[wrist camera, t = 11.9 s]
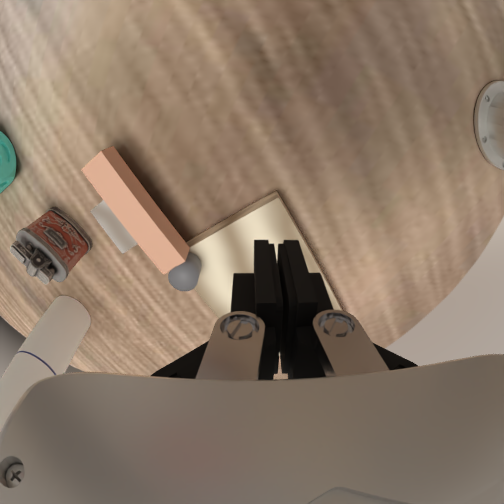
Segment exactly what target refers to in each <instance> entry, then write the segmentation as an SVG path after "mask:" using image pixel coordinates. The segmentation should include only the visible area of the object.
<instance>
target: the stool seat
mask: <svg viewBox="0 0 504 504" xmlns="http://www.w3.org/2000/svg"><path fill="white" fill-rule="evenodd" d="M91 213H92V214H93V216H94V217H95V218H96V220H97V221H98V222H99V224H100V225H101V226H102V228H103V229H104V230H105V232H106V233H107V234H108V236H109V237H110V238H111V239H112V241H113V242H114V243H115V245H116V246H117V247H118V248H119V250H120V251H121V252H122V253H125V252H126V251H128V250H129V249H131V248H132V247H134V246H135V245H137V244H138V243H137V242H136V241H135V240H134V238H133V237H132V236H131V235H130V233H129V232H128V231H127V230H126V228H125V227H124V226H123V225H122V223H121V222H120V221H119V220H118V218H117V217H116V216H115V214H114V213H113V212H112V210H111V209H110V208H109V207H108V205H107V204H106V203H105V201H104V200H103V201H102V202H101V203H99V204H98V205H97V206H96V207H95V208H93V209H92V210H91ZM254 240H268V241H269V244H274V246H275V253H276V259H277V255H278V244H283V241H284V240H299V243H300V246H301V249H302V252H303V255H304V259H305V262H306V265H307V268H308V271H309V273H321V275H322V278H323V281H324V284H325V286H326V289H327V292H328V295H329V297H330V300H331V303H332V306H333V309H334V310H342V311H343V309H342V307H341V305H340V303H339V301H338V299H337V297H336V295H335V294H334V292H333V290H332V288H331V286H330V284H329V282H328V280H327V279H326V277H325V275H324V273H323V271H322V269H321V268H320V266H319V264H318V262H317V260H316V258H315V257H314V255H313V253H312V251H311V249H310V248H309V246H308V244H307V242H306V241H305V239H304V237H303V235H302V234H301V232H300V230H299V228H298V226H297V225H296V223H295V221H294V220H293V218H292V216H291V214H290V213H289V211H288V209H287V207H286V206H285V204H284V202H283V201H282V199H281V197H280V196H279V194H278V192H277V191H275V192H273V193H271V194H269V195H268V196H266V197H264V198H262V199H260V200H259V201H257V202H255V203H253V204H251V205H250V206H248V207H246V208H244V209H243V210H241V211H239V212H237V213H236V214H234V215H232V216H230V217H229V218H227V219H225V220H223V221H222V222H220V223H218V224H217V225H215V226H213V227H211V228H210V229H208V230H206V231H204V232H203V233H201V234H199V235H198V236H196V237H194V238H193V239H191V240H189V241H188V242H186V244H187V245H188V246H189V247H190V250H189V252H191V253H193V254H195V255H197V256H198V257H199V259H200V261H201V264H202V267H201V271H200V275H199V279H198V283H197V285H196V287H195V288H194V289H195V291H196V292H197V293H198V294H199V296H200V297H201V298H202V299H203V300H204V302H205V303H206V304H207V305H208V306H209V308H210V309H211V310H212V311H213V312H214V314H215V315H216V316H217V317H218V318H220V317H221V316H223V315H225V314H227V313H230V311H231V298H232V285H233V274H234V273H254ZM279 355H280V353H279Z"/></svg>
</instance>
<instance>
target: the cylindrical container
mask: <svg viewBox="0 0 504 504" xmlns="http://www.w3.org/2000/svg"><path fill="white" fill-rule="evenodd" d="M90 324H91V319H90V315H89V313H88V311H87V310H86V308H85V307H84V306H83V305H82V304H81V303H80V302H79V301H77V300H76V299H74V298H72V297H69V296H58V297H57V298H56V299H55V300H54V301H53V302H52V304H51V305H50V306H49V308H48V309H47V310H46V312H45V313H44V314H43V316H42V317H41V319H40V320H39V321H38V323H37V324H36V325H35V327H34V328H33V330H32V331H31V333H30V334H29V335H28V337H27V338H26V340H25V341H24V343H23V344H22V346H21V347H20V349H19V350H18V352H17V353H16V355H15V356H14V358H13V359H12V361H11V363H10V364H9V366H8V367H7V369H6V371H5V372H4V374H3V375H2V377H1V378H0V432H1V430H2V428H3V426H4V424H5V422H6V420H7V418H8V416H9V415H10V413H11V411H12V410H13V408H14V407H15V405H16V403H17V402H18V400H19V399H20V398H21V396H22V395H23V394H24V393H25V391H26V390H27V389H28V388H29V387H30V386H32V385H33V384H34V383H36V382H37V381H39V380H41V379H44V378H47V377H51V376H54V375H60V374H64V373H65V371H66V370H67V368H68V366H69V364H70V362H71V360H72V358H73V356H74V354H75V352H76V350H77V349H78V347H79V345H80V343H81V341H82V339H83V337H84V336H85V334H86V332H87V330H88V329H89V327H90Z"/></svg>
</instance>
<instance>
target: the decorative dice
mask: <svg viewBox="0 0 504 504" xmlns="http://www.w3.org/2000/svg"><path fill="white" fill-rule="evenodd" d="M15 173H16V156H15V151H14V148H13V146H12V144H11V142H10V140H9V139H8V138H7V137H6V136H5V135H4V134H3V133H2V132H1V131H0V193H1V192H2V191H3V190H4V189H6V188H7V187H8V186H9V185H10V184H11V183H12V181H13V180H14V177H15Z"/></svg>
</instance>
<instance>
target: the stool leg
mask: <svg viewBox="0 0 504 504" xmlns="http://www.w3.org/2000/svg"><path fill="white" fill-rule="evenodd" d="M81 170H82V171H83V173H84V174H85V176H86V177H87V178H88V180H89V181H90V182H91V184H92V185H93V187H94V188H95V189H96V191H97V192H98V193H99V195H100V196H101V197H102V199H103V200H104V201H105V203H106V204H107V205H108V207H109V208H110V209H111V210H112V212H113V213H114V214H115V216H116V217H117V218H118V220H119V221H120V222H121V223H122V225H123V226H124V227H125V228H126V230H127V231H128V232H129V233H130V235H131V236H132V237H133V238H134V240H135V241H136V242H137V243H138V245H139V246H140V247H141V248H142V249H143V251H144V252H145V253H146V254H147V256H148V257H149V258H150V259H151V260H152V262H153V263H154V264H155V265H156V266H157V267H158V269H159V270H160V271H161V272H162V273H163V275H164V274H165V273H167V272H169V271H170V272H169V275H168V279H169V282H170V284H171V285H172V286H173V287H174V288H176V289H177V290H180V291H190V290H192V289H194V288H195V287H196V285H197V283H198V279H199V275H200V271H201V267H202V264H201V261H200V259H199V257H198V256H197V255H195V254H193V253H191V252H189V250H190V247H189V246H188V245H187V244H186V242H185V241H184V240H183V238H182V237H181V236H180V235H179V233H178V232H177V231H176V229H175V228H174V227H173V226H172V224H171V223H170V222H169V220H168V219H167V218H166V216H165V215H164V214H163V213H162V211H161V210H160V209H159V207H158V206H157V205H156V203H155V202H154V201H153V199H152V198H151V197H150V195H149V194H148V193H147V191H146V190H145V189H144V187H143V186H142V185H141V183H140V182H139V181H138V179H137V178H136V177H135V175H134V174H133V173H132V171H131V170H130V168H129V167H128V166H127V164H126V163H125V162H124V160H123V159H122V157H121V156H120V155H119V153H118V152H117V150H116V149H115V148H114V146H111V147H109V148H107V149H104V150H102V151H100V152H99V153H98V154H97V155H96V156H95V157H94V158H93V159H92V160H91V161H90V162H89V163H87V164H86V165H85V166H84V167H83V168H82V169H81Z"/></svg>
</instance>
